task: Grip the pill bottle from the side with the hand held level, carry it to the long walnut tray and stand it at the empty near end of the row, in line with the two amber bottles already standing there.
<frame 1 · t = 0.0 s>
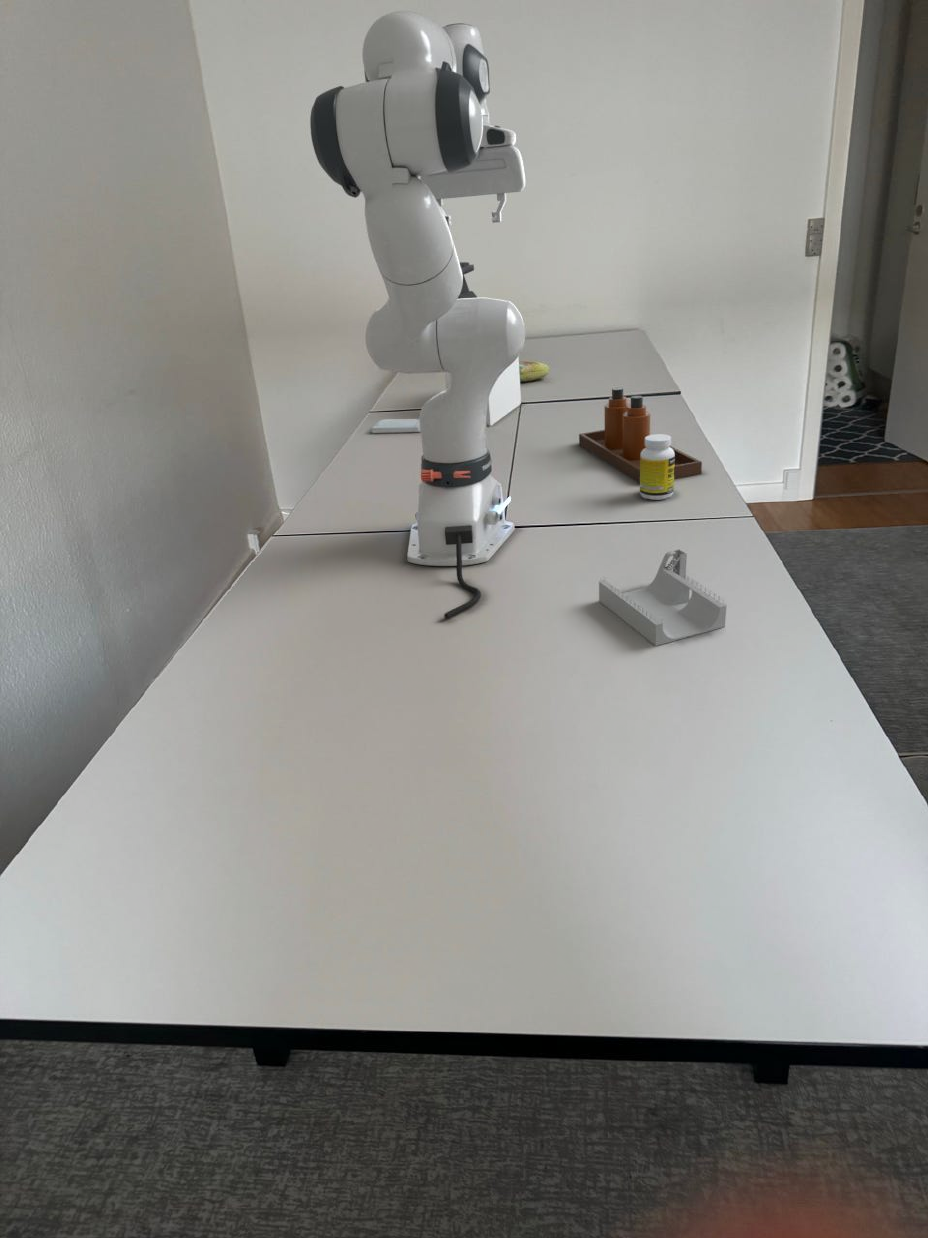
hand: (471, 224, 154), 48 cm above the table, tool pointing down, fingers open, 8 cm apart
tray: (636, 458, 178), on the table
cell model: (524, 381, 254), on the table
pill bottle: (656, 496, 157), on the table
grey plastic cradle: (667, 612, 116), on the table
hard drive: (400, 429, 216), on the table
amber bottle far: (617, 445, 185), resting on tray
box: (484, 407, 228), on the table
amber bottle middle: (636, 455, 177), resting on tray
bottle: (461, 354, 301), on the table
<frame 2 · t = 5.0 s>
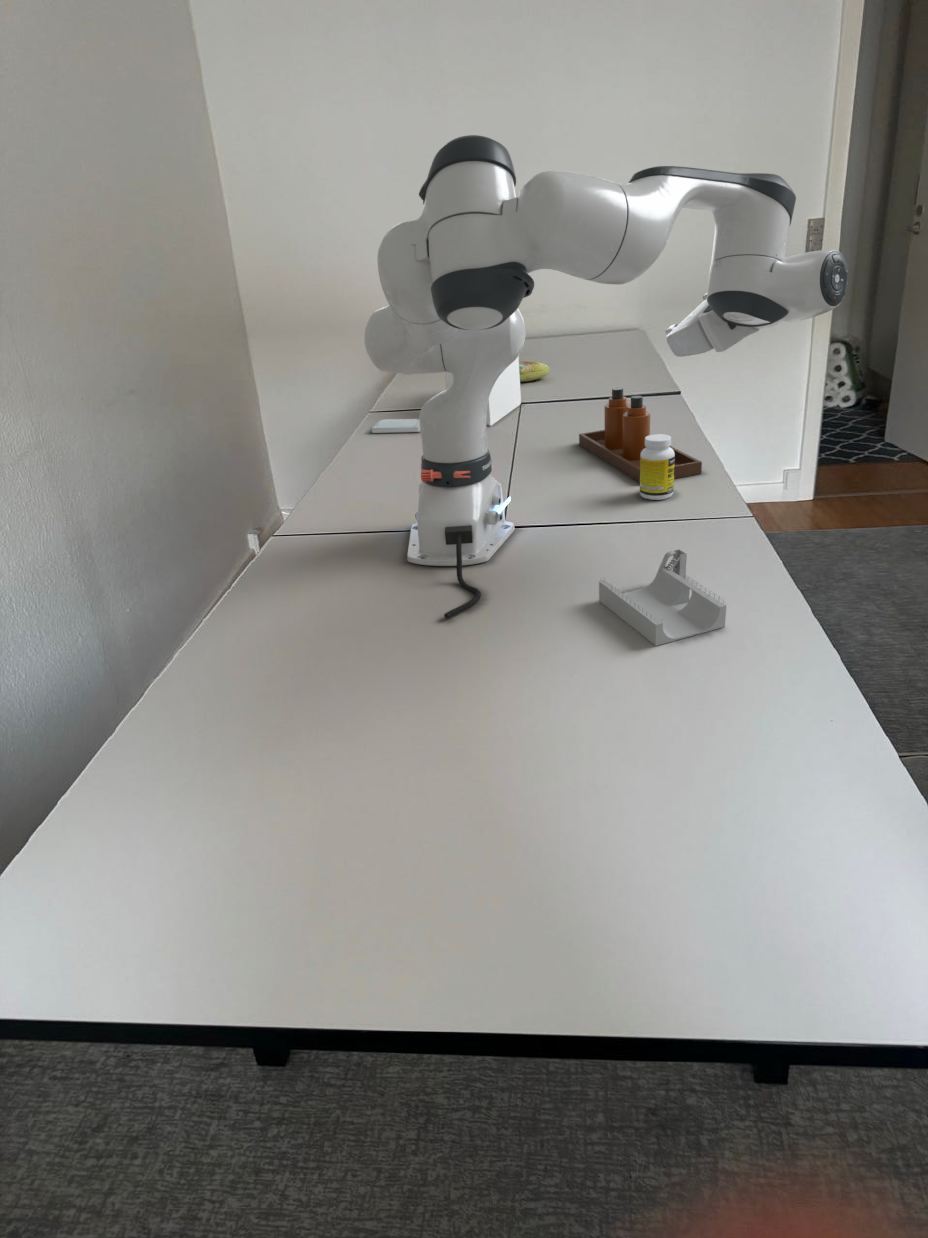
hand: (688, 315, 137), 33 cm above the table, tool horizontal, fingers open, 8 cm apart
nothing on the table moved.
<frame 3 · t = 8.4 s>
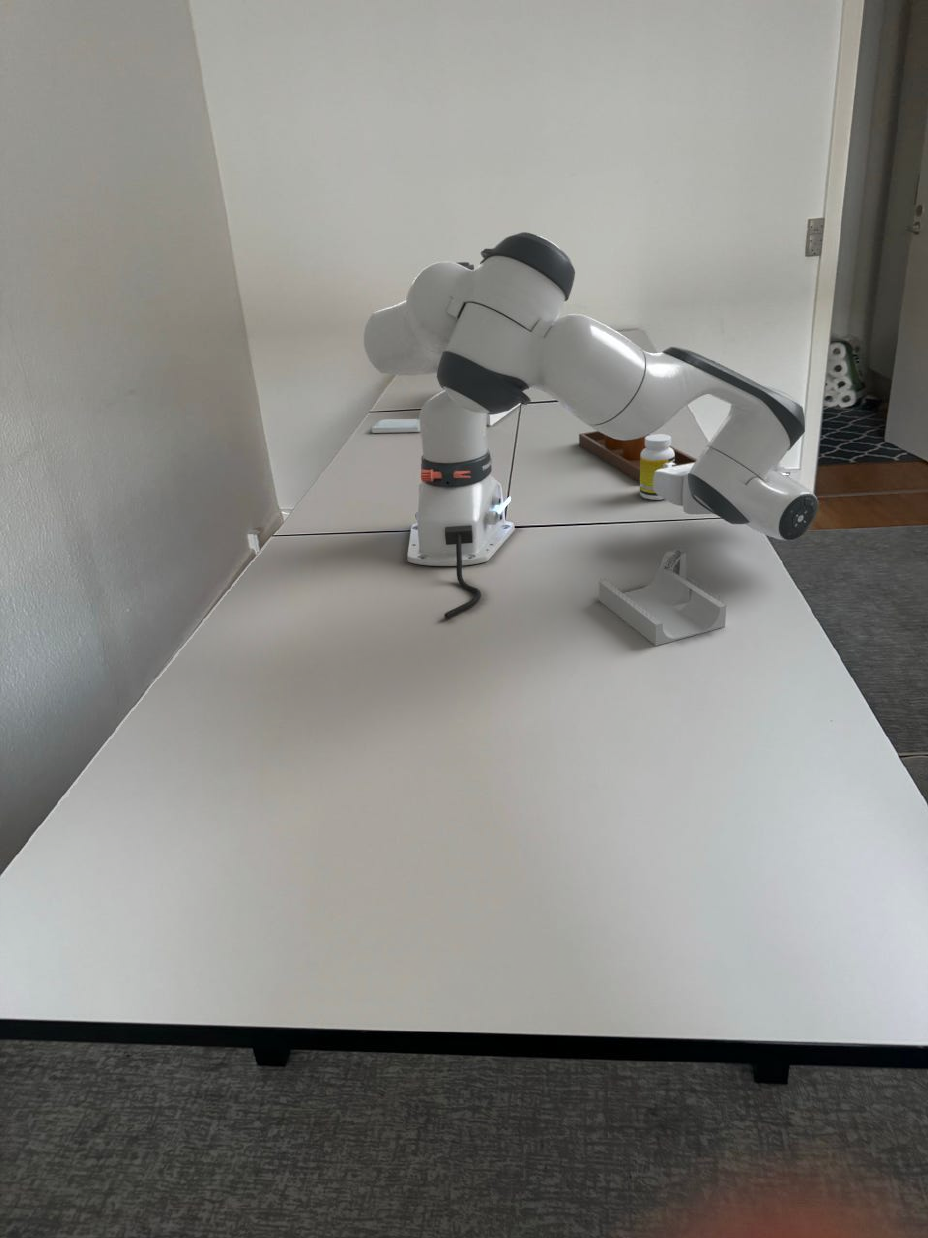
hand: (692, 462, 142), 10 cm above the table, tool horizontal, fingers open, 8 cm apart
nothing on the table moved.
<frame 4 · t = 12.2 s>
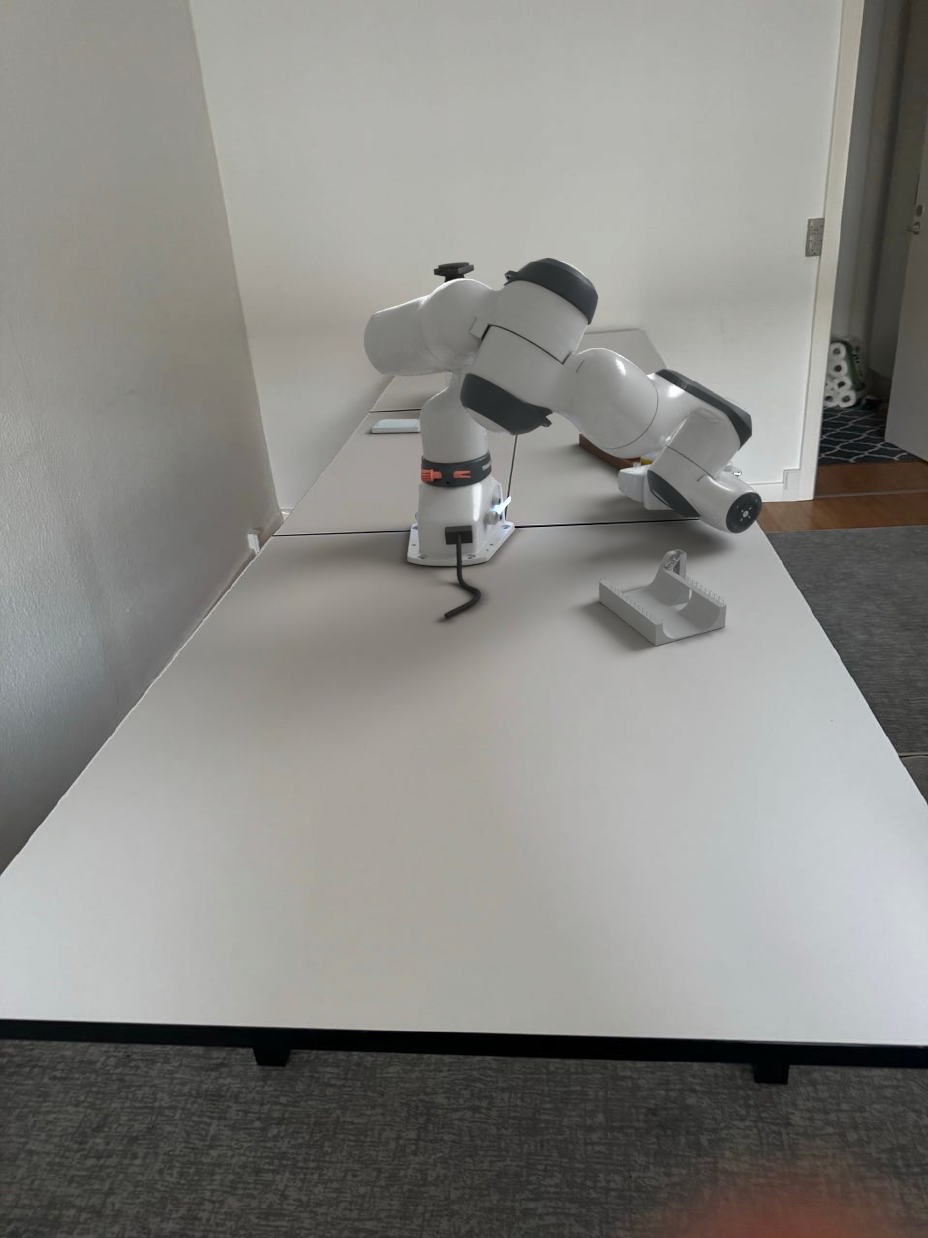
hand: (654, 463, 155), 6 cm above the table, tool horizontal, fingers closed on pill bottle, 6 cm apart
pill bottle: (656, 496, 157), on the table, touching gripper
everything else where it was.
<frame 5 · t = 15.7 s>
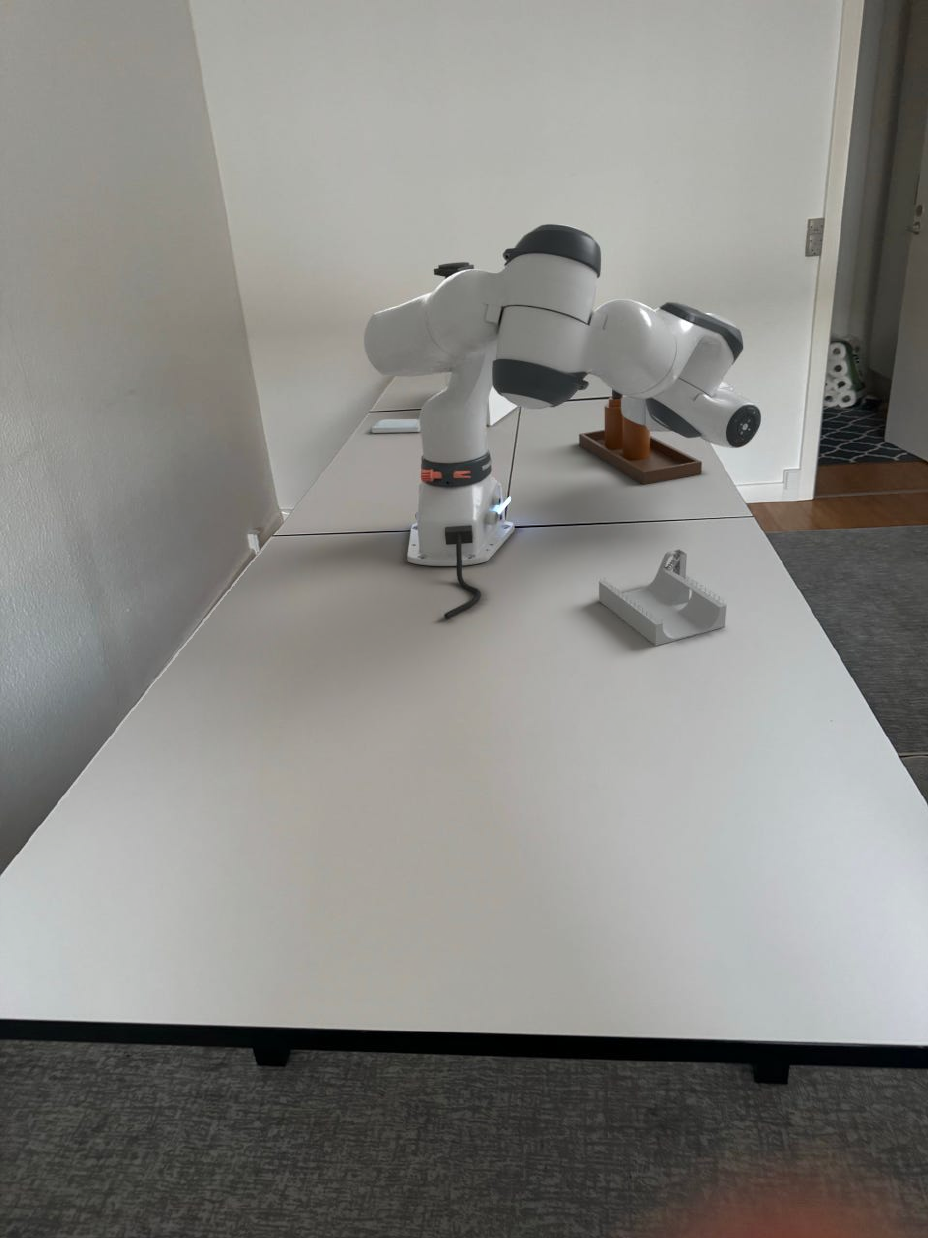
hand: (657, 391, 158), 17 cm above the table, tool horizontal, fingers closed on pill bottle, 6 cm apart
pill bottle: (659, 425, 160), point 11 cm above the table, touching gripper
everything else where it was.
when the fingers open (6 cm above the table, at t = 19.7 s): pill bottle stays where it is, resting on tray.
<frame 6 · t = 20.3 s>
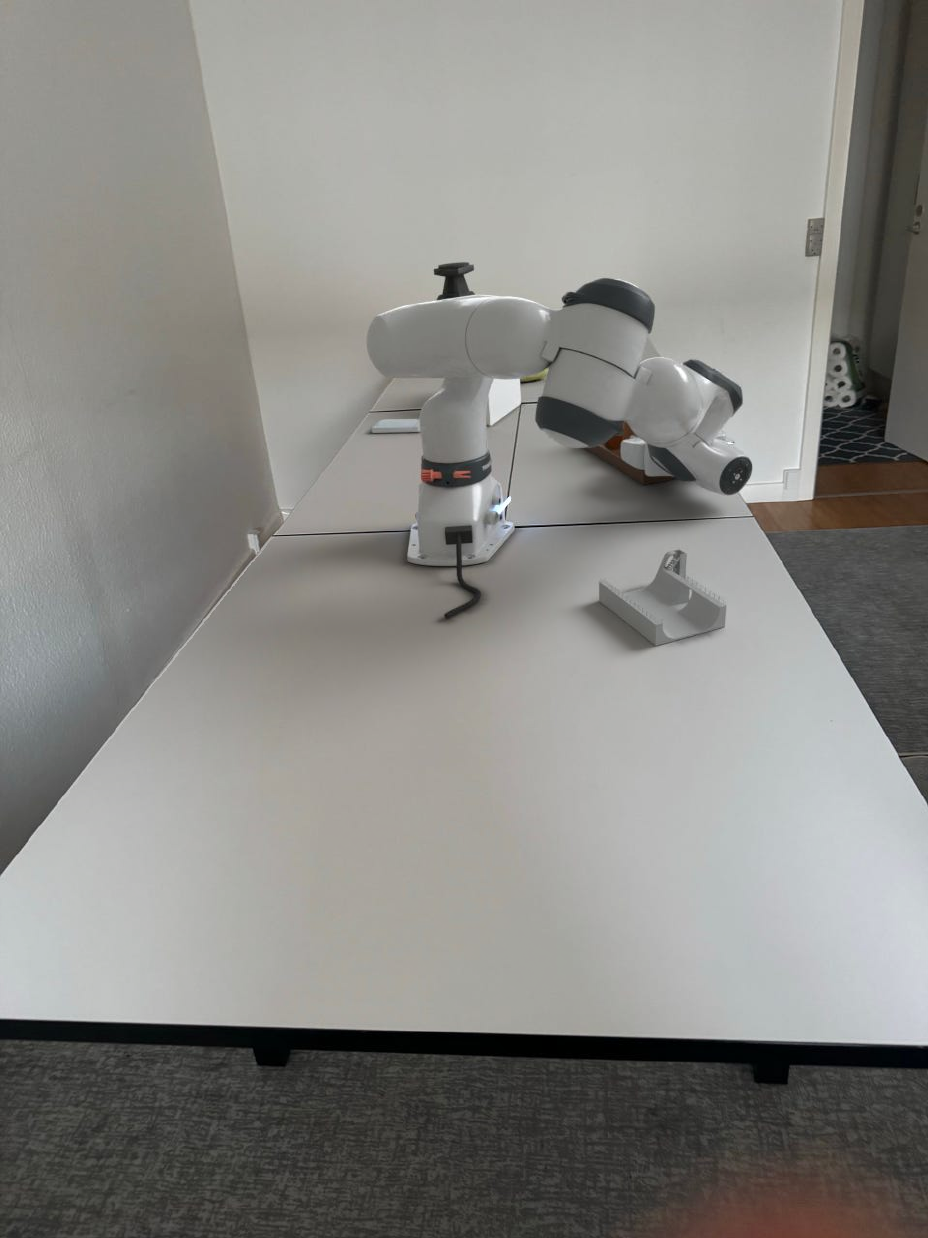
hand: (654, 435, 168), 7 cm above the table, tool horizontal, fingers open, 8 cm apart
pill bottle: (657, 468, 170), resting on tray
everything else where it was.
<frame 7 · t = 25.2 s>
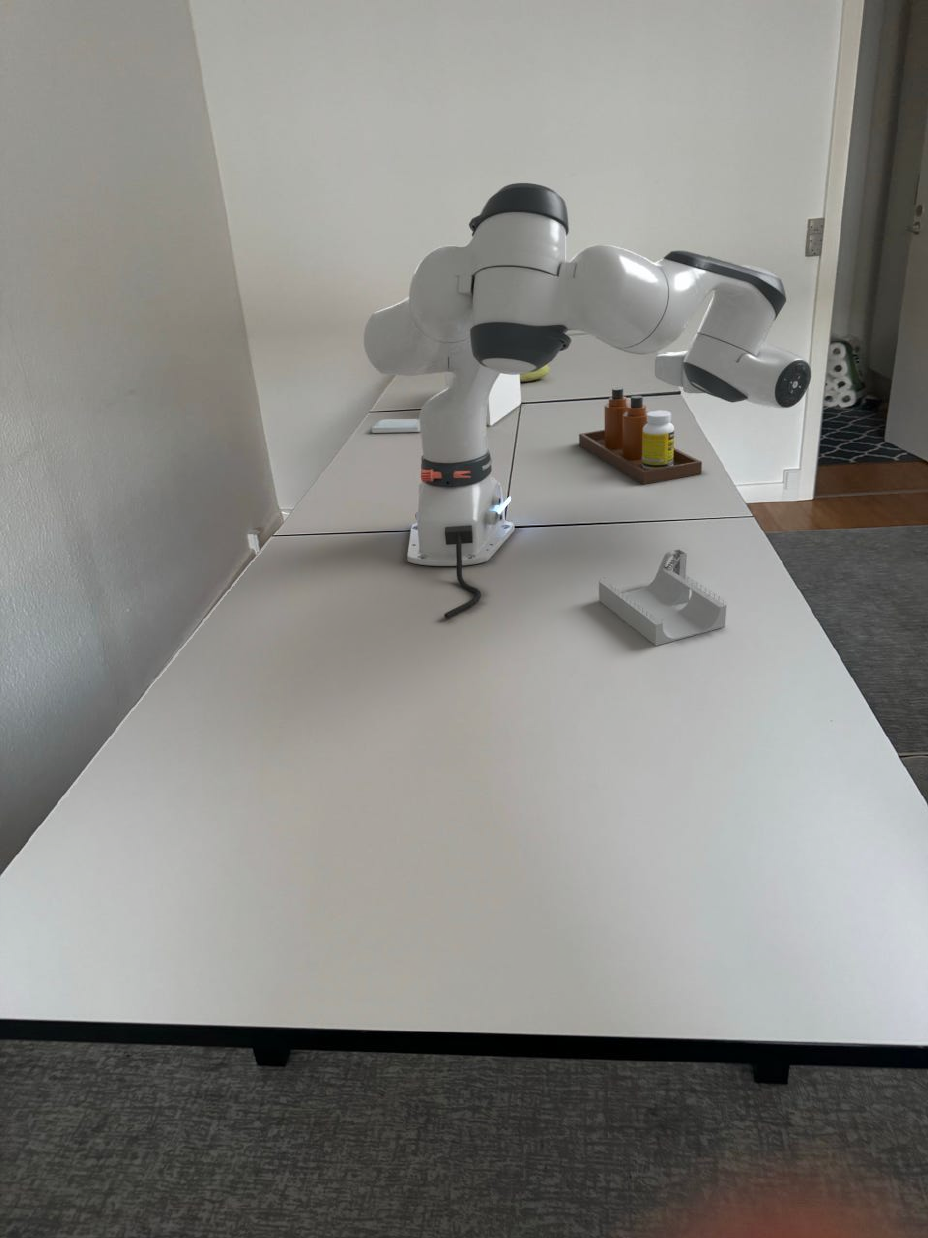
hand: (691, 353, 148), 25 cm above the table, tool horizontal, fingers open, 8 cm apart
nothing on the table moved.
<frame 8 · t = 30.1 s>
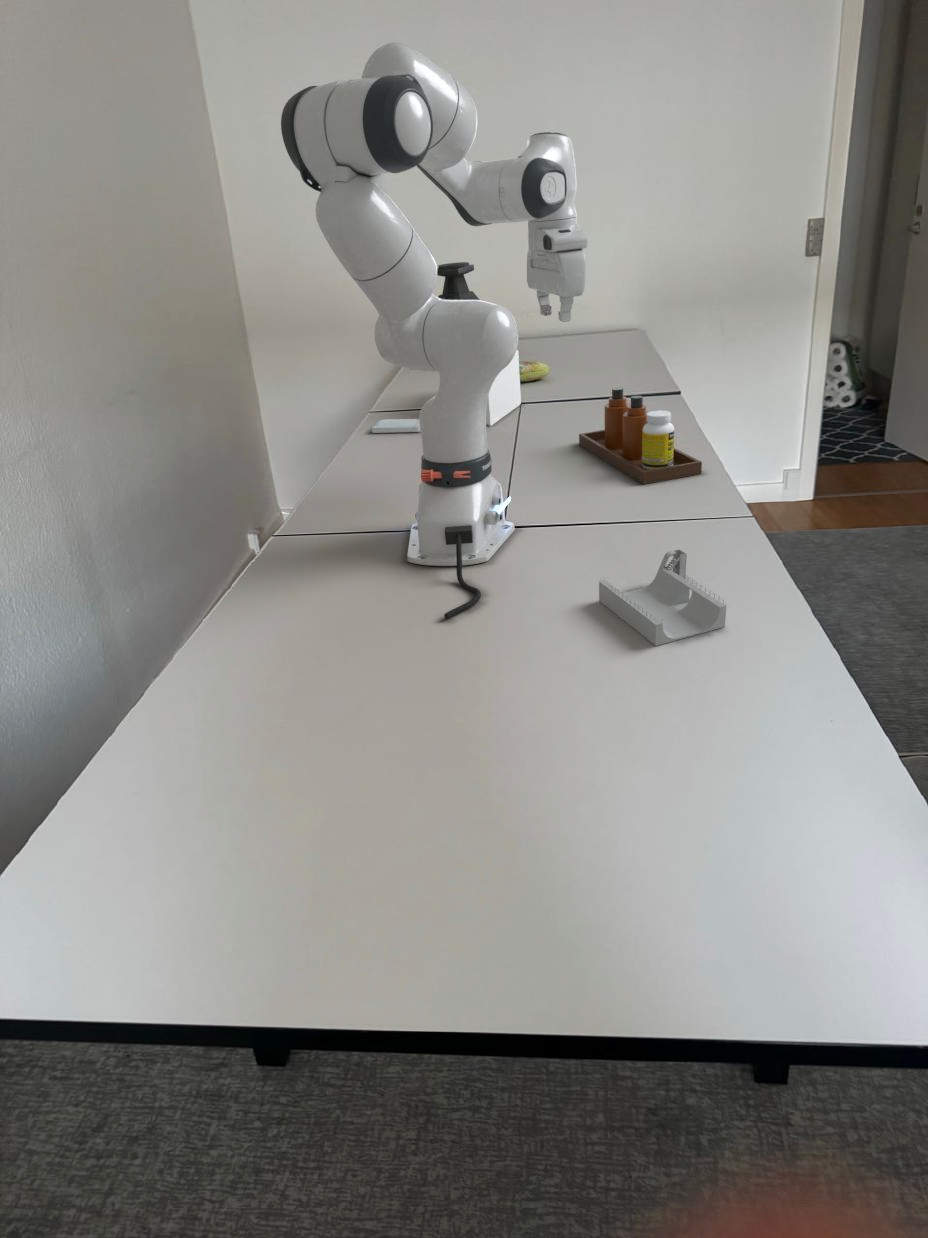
hand: (555, 318, 156), 31 cm above the table, tool pointing down, fingers open, 8 cm apart
nothing on the table moved.
at the end: pill bottle 0.2 cm from the target spot in the tray, point 0.3 cm above the tray's base; pill bottle tilted 0°; amber bottle middle moved 0.0 cm from its start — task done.
